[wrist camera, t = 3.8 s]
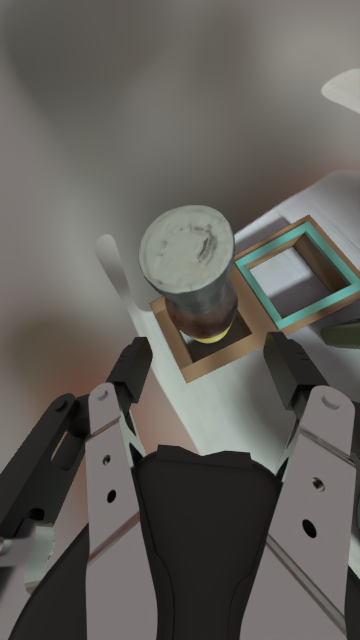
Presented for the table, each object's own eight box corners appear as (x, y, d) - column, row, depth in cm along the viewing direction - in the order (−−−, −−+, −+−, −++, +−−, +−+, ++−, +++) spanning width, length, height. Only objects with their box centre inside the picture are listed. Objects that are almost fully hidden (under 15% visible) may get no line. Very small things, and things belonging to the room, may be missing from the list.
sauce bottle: (236, 325, 24) (330, 247, 5) (206, 351, 25) (187, 373, 5) (207, 296, 26) (196, 153, 7) (179, 321, 26) (91, 253, 7)
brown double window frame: (297, 229, 25) (310, 212, 22) (354, 298, 22) (380, 290, 18) (155, 308, 27) (148, 302, 24) (189, 379, 24) (186, 384, 21)
